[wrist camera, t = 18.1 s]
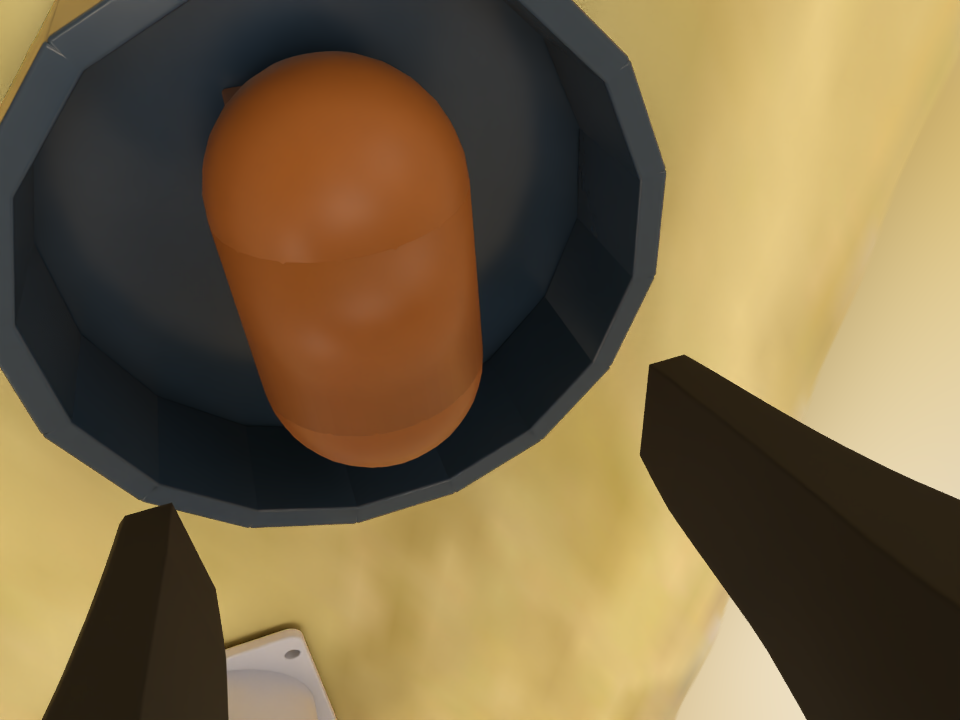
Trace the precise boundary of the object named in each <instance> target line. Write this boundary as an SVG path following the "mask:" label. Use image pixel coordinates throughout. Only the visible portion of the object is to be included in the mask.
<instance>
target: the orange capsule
mask: <svg viewBox="0 0 960 720" xmlns="http://www.w3.org/2000/svg"><path fill="white" fill-rule="evenodd" d="M222 96H223V100H224V105H225V106H224V108H223V110H222V111H221V113H220V115H219V117H218V119H217V121H216V123H215V125H214V127H213V129H212V131H211V133H210V135H209V138H208V142H207V146H206V151H205V155H204V159H203V168H202V197H203V202H204V207H205V211H206V216H207V220H208V224H209V227H210V230H211V233H212V236H213V239H214V242H215V245H216V248H217V251H218V254H219V257H220V260H221V263H222V266H223V269H224V272H225V275H226V278H227V281H228V284H229V287H230V290H231V293H232V296H233V299H234V302H235V305H236V308H237V311H238V314H239V317H240V320H241V323H242V326H243V329H244V332H245V335H246V338H247V341H248V344H249V347H250V349H251V352H252V355H253V358H254V361H255V364H256V367H257V370H258V373H259V376H260V379H261V382H262V385H263V388H264V391H265V394H266V396H267V398H268V401H269V403H270V405H271V407H272V409H273V411H274V413H275V415H276V416H277V417H278V419H279V420H280V421H281V423H282V424H283V425H284V427H285V428H286V429H287V430H288V431H289V432H290V433H291V434H292V436H293V437H294V438H295V439H297V440H298V441H299V442H300V443H302V444H303V445H304V446H306V447H307V448H308V449H310V450H312V451H313V452H315V453H317V454H319V455H321V456H323V457H325V458H327V459H329V460H331V461H334V462H338V463H342V464H346V465H350V466H357V467H370V468H375V467H388V466H393V465H397V464H402V463H405V462H408V461H410V460H413V459H416V458H418V457H420V456H421V455H423V454H425V453H427V452H429V451H430V450H432V449H433V448H435V447H437V446H438V445H439V444H440V443H442V442H443V441H444V440H445V439H447V438H448V437H449V436H450V435H451V434H452V433H453V432H454V430H455V429H456V428H457V427H458V426H459V425H460V423H461V422H462V420H463V419H464V417H465V416H466V415H467V413H468V411H469V409H470V407H471V405H472V404H473V402H474V399H475V396H476V393H477V390H478V387H479V383H480V379H481V374H482V363H483V344H482V331H481V319H480V306H479V293H478V281H477V268H476V255H475V242H474V230H473V217H472V204H471V192H470V179H469V174H468V169H467V164H466V158H465V153H464V150H463V148H462V145H461V143H460V141H459V138H458V136H457V134H456V131H455V129H454V127H453V125H452V123H451V121H450V120H449V118H448V117H447V115H446V114H445V112H444V111H443V110H442V108H441V107H440V105H439V104H438V102H437V101H436V100H435V99H434V98H433V97H432V96H431V95H430V94H429V93H428V92H427V91H426V90H425V89H423V88H422V87H421V86H420V85H419V84H418V83H417V82H416V81H415V80H414V79H412V78H411V77H410V76H408V75H406V74H405V73H403V72H401V71H399V70H398V69H396V68H394V67H393V66H391V65H389V64H387V63H385V62H383V61H380V60H376V59H373V58H370V57H366V56H363V55H360V54H356V53H351V52H343V51H324V52H314V53H307V54H302V55H297V56H293V57H290V58H286V59H284V60H281V61H278V62H276V63H274V64H272V65H270V66H269V67H267V68H266V69H264V70H263V71H261V72H260V73H258V74H257V75H255V76H254V77H252V78H251V79H249V80H248V81H246V82H245V83H244V84H243V85H242V86H238V87H232V88H227V89H224V90H222Z"/></svg>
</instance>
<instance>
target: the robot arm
mask: <svg viewBox="0 0 960 720" xmlns="http://www.w3.org/2000/svg"><path fill="white" fill-rule="evenodd" d="M640 456H641V458H642V460H643V462H644V464H645V466H646V468H647V470H648V472H649V474H650V476H651V478H652V480H653V482H654V484H655V486H656V487H657V489H658V491H659V493H660V495H661V496H662V498H663V500H664V502H665V504H666V506H667V507H668V509H669V511H670V512H671V514H672V515H673V517H674V518H675V519H676V521H677V522H678V524H679V525H680V527H681V528H682V529H683V531H684V532H685V534H686V535H687V537H688V538H689V539H690V541H691V542H692V544H693V545H694V547H695V548H696V549H697V551H698V552H699V554H700V555H701V556H702V558H703V559H704V561H705V562H706V563H707V565H708V566H709V568H710V569H711V570H712V572H713V573H714V575H715V576H716V577H717V579H718V580H719V582H720V583H721V584H722V586H723V587H724V588H725V590H726V591H727V593H728V594H729V595H730V597H731V598H732V600H733V601H734V602H735V604H736V605H737V607H738V608H739V609H740V610H741V612H742V614H743V615H744V616H745V618H746V619H747V621H748V622H749V623H750V625H751V626H752V628H753V629H754V631H755V633H756V634H757V635H758V637H759V639H760V640H761V642H762V643H763V645H764V646H765V648H766V649H767V651H768V652H769V654H770V656H771V658H772V660H773V661H774V663H775V665H776V666H777V668H778V670H779V672H780V673H781V675H782V677H783V679H784V680H785V682H786V684H787V685H788V687H789V689H790V691H791V693H792V694H793V696H794V698H795V699H796V701H797V703H798V705H799V707H800V708H801V710H802V712H803V714H804V716H805V718H806V719H807V720H960V500H959V499H957V498H954V497H952V496H950V495H947V494H945V493H943V492H940V491H938V490H935V489H933V488H931V487H929V486H926V485H924V484H922V483H919V482H917V481H914V480H912V479H910V478H908V477H906V476H903V475H902V474H899V473H897V472H895V471H893V470H891V469H889V468H887V467H885V466H883V465H881V464H879V463H876V462H875V461H873V460H870V459H869V458H867V457H865V456H863V455H861V454H859V453H857V452H855V451H853V450H851V449H849V448H846V447H845V446H843V445H841V444H839V443H837V442H835V441H834V440H831V439H830V438H828V437H826V436H824V435H822V434H820V433H819V432H817V431H815V430H813V429H811V428H810V427H808V426H806V425H804V424H802V423H801V422H799V421H797V420H795V419H794V418H792V417H790V416H788V415H786V414H785V413H783V412H781V411H780V410H778V409H776V408H774V407H773V406H771V405H769V404H767V403H766V402H764V401H762V400H761V399H759V398H757V397H756V396H754V395H752V394H751V393H749V392H747V391H745V390H744V389H742V388H740V387H739V386H737V385H735V384H734V383H732V382H730V381H729V380H727V379H725V378H724V377H722V376H720V375H719V374H717V373H715V372H714V371H712V370H710V369H709V368H707V367H705V366H703V365H702V364H700V363H698V362H696V361H695V360H693V359H691V358H689V357H688V356H686V355H681V356H678V357H674V358H671V359H667V360H664V361H661V362H657V363H654V364H650V365H649V373H648V382H647V392H646V401H645V411H644V421H643V430H642V440H641V449H640ZM42 720H337V718H336V715H335V713H334V711H333V708H332V706H331V703H330V701H329V698H328V696H327V693H326V691H325V688H324V686H323V683H322V681H321V678H320V676H319V673H318V671H317V669H316V666H315V664H314V661H313V659H312V656H311V654H310V651H309V649H308V646H307V644H306V641H305V639H304V636H303V634H302V632H301V631H300V630H297V629H285V630H282V631H279V632H276V633H273V634H270V635H267V636H264V637H261V638H258V639H255V640H252V641H249V642H246V643H243V644H240V645H236V646H233V647H230V648H227V649H225V646H224V639H223V632H222V625H221V619H220V613H219V607H218V600H217V594H216V589H215V587H214V585H213V583H212V581H211V579H210V577H209V575H208V573H207V571H206V569H205V567H204V565H203V563H202V561H201V559H200V557H199V555H198V553H197V551H196V549H195V547H194V545H193V543H192V541H191V539H190V537H189V535H188V533H187V531H186V529H185V527H184V525H183V523H182V521H181V520H180V518H179V516H178V514H177V512H176V510H175V508H174V506H173V504H172V503H168V504H165V505H161V506H158V507H154V508H151V509H148V510H144V511H141V512H137V513H134V514H130V515H127V516H125V517H124V518H123V520H122V521H121V523H120V524H119V527H118V530H117V533H116V536H115V539H114V542H113V545H112V548H111V551H110V554H109V557H108V560H107V563H106V566H105V569H104V572H103V574H102V577H101V580H100V583H99V585H98V588H97V591H96V593H95V596H94V599H93V601H92V604H91V607H90V609H89V612H88V614H87V617H86V620H85V622H84V624H83V627H82V629H81V632H80V634H79V636H78V639H77V641H76V644H75V646H74V649H73V651H72V653H71V656H70V658H69V661H68V663H67V665H66V668H65V670H64V673H63V675H62V677H61V680H60V682H59V684H58V686H57V689H56V691H55V693H54V695H53V697H52V699H51V701H50V703H49V706H48V708H47V710H46V712H45V714H44V716H43V718H42Z"/></svg>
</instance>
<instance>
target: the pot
mask: <svg viewBox="0 0 960 720" xmlns="http://www.w3.org/2000/svg"><path fill="white" fill-rule="evenodd" d="M324 51H343V52H351V53H356V54H360V55H363V56H366V57H370V58H373V59H376V60H380V61H383V62H385V63H387V64H389V65H391V66H393V67H394V68H396V69H398V70H399V71H401V72H403V73H405V74H406V75H408V76H410V77H411V78H412V79H414V80H415V81H416V82H417V83H418V84H419V85H420V86H421V87H422V88H423V89H425V90H426V91H427V92H428V93H429V94H430V95H431V96H432V97H433V98H434V99H435V100H436V101H437V102H438V104H439V105H440V107H441V108H442V110H443V111H444V112H445V114H446V115H447V117H448V118H449V120H450V121H451V123H452V125H453V127H454V129H455V131H456V134H457V136H458V138H459V141H460V143H461V145H462V148H463V150H464V153H465V158H466V164H467V169H468V174H469V179H470V192H471V204H472V217H473V230H474V242H475V255H476V268H477V281H478V293H479V306H480V319H481V331H482V344H483V363H482V374H481V379H480V383H479V387H478V390H477V393H476V396H475V399H474V402H473V404H472V405H471V407H470V409H469V411H468V413H467V415H466V416H465V417H464V419H463V420H462V422H461V423H460V425H459V426H458V427H457V428H456V429H455V430H454V432H453V433H452V434H451V435H450V436H449V437H448V438H447V439H445V440H444V441H443V442H442V443H440V444H439V445H438V446H437V447H435V448H433V449H432V450H430V451H429V452H427V453H425V454H423V455H421V456H420V457H418V458H416V459H413V460H410V461H408V462H405V463H402V464H397V465H393V466H388V467H375V468H370V467H357V466H350V465H346V464H342V463H338V462H334V461H331V460H329V459H327V458H325V457H323V456H321V455H319V454H317V453H315V452H313V451H312V450H310V449H308V448H307V447H306V446H304V445H303V444H302V443H300V442H299V441H298V440H297V439H295V438H294V437H293V436H292V434H291V433H290V432H289V431H288V430H287V429H286V428H285V427H284V425H283V424H282V423H281V421H280V420H279V419H278V417H277V416H276V415H275V413H274V411H273V409H272V407H271V405H270V403H269V401H268V398H267V396H266V394H265V391H264V388H263V385H262V382H261V379H260V376H259V373H258V370H257V367H256V364H255V361H254V358H253V355H252V352H251V349H250V347H249V344H248V341H247V338H246V335H245V332H244V329H243V326H242V323H241V320H240V317H239V314H238V311H237V308H236V305H235V302H234V299H233V296H232V293H231V290H230V287H229V284H228V281H227V278H226V275H225V272H224V269H223V266H222V263H221V260H220V257H219V254H218V251H217V248H216V245H215V242H214V239H213V236H212V233H211V230H210V227H209V224H208V220H207V216H206V211H205V207H204V202H203V197H202V168H203V159H204V155H205V151H206V146H207V142H208V138H209V135H210V133H211V131H212V129H213V127H214V125H215V123H216V121H217V119H218V117H219V115H220V113H221V111H222V110H223V108H224V106H225V105H224V100H223V96H222V90H224V89H227V88H232V87H238V86H242V85H243V84H244V83H245V82H246V81H248V80H249V79H251V78H252V77H254V76H255V75H257V74H258V73H260V72H261V71H263V70H264V69H266V68H267V67H269V66H270V65H272V64H274V63H276V62H278V61H281V60H284V59H286V58H290V57H293V56H297V55H302V54H307V53H314V52H324ZM665 179H666V170H665V165H664V162H663V159H662V156H661V153H660V150H659V147H658V144H657V141H656V138H655V135H654V131H653V128H652V125H651V122H650V119H649V116H648V113H647V110H646V107H645V104H644V101H643V98H642V95H641V92H640V89H639V86H638V83H637V80H636V76H635V73H634V70H633V67H632V64H631V61H630V60H629V58H628V56H627V55H626V54H625V53H624V52H623V51H622V50H621V49H620V48H619V47H618V46H617V45H616V44H615V43H614V42H613V41H612V40H611V39H610V38H609V37H608V36H607V35H606V34H605V33H604V32H603V31H602V30H601V29H600V28H599V27H598V26H597V25H596V24H595V23H594V22H593V21H592V20H591V19H590V18H589V17H588V16H587V15H586V14H585V13H584V12H583V11H582V10H581V9H580V8H579V7H578V6H577V5H576V3H575V2H574V1H573V0H55V2H54V3H53V5H52V7H51V9H50V11H49V13H48V15H47V17H46V19H45V21H44V23H43V25H42V27H41V28H40V30H39V32H38V34H37V36H36V38H35V40H34V41H33V43H32V44H31V46H30V48H29V50H28V52H27V55H26V57H25V59H24V61H23V63H22V65H21V67H20V69H19V71H18V73H17V75H16V76H15V78H14V80H13V82H12V84H11V86H10V88H9V90H8V92H7V94H6V96H5V98H4V100H3V101H2V103H1V105H0V368H1V370H2V371H3V373H4V375H5V376H6V378H7V379H8V381H9V383H10V384H11V386H12V387H13V389H14V391H15V392H16V394H17V395H18V397H19V399H20V400H21V402H22V403H23V405H24V407H25V408H26V410H27V411H28V413H29V415H30V416H31V418H32V419H33V421H34V423H35V424H36V426H37V427H38V429H39V431H40V432H41V433H42V434H43V436H44V437H45V438H46V439H48V440H50V441H51V442H53V443H54V444H56V445H57V446H59V447H60V448H62V449H63V450H65V451H66V452H68V453H69V454H71V455H72V456H74V457H75V458H77V459H78V460H80V461H81V462H83V463H84V464H86V465H87V466H89V467H90V468H92V469H93V470H95V471H96V472H98V473H99V474H101V475H102V476H104V477H105V478H107V479H108V480H110V481H111V482H113V483H114V484H116V485H117V486H119V487H120V488H122V489H123V490H125V491H126V492H128V493H129V494H131V495H132V496H134V497H135V498H137V499H138V500H141V501H143V502H146V503H150V504H154V505H158V506H161V505H165V504H168V503H172V504H173V506H174V508H175V510H178V511H182V512H186V513H190V514H194V515H198V516H202V517H206V518H210V519H214V520H219V521H223V522H227V523H231V524H235V525H239V526H243V527H247V528H249V527H251V528H261V527H285V526H309V525H333V524H354V523H356V522H357V523H360V522H363V521H366V520H369V519H373V518H376V517H379V516H382V515H386V514H389V513H392V512H395V511H398V510H402V509H405V508H408V507H411V506H415V505H418V504H421V503H424V502H428V501H431V500H434V499H437V498H441V497H444V496H447V495H450V494H453V493H454V492H458V491H460V490H461V489H463V488H465V487H466V486H468V485H469V484H471V483H473V482H474V481H476V480H478V479H479V478H481V477H483V476H484V475H486V474H487V473H489V472H491V471H492V470H494V469H496V468H497V467H499V466H500V465H502V464H504V463H505V462H507V461H509V460H510V459H512V458H514V457H515V456H517V455H518V454H520V453H522V452H523V451H525V450H527V449H528V448H530V447H531V446H533V445H535V444H536V443H538V442H540V441H541V439H543V438H544V437H545V436H546V435H547V434H548V433H549V432H550V431H551V430H552V429H553V428H554V427H555V426H556V425H557V424H558V423H559V421H560V420H561V419H562V418H563V417H564V416H565V415H566V414H567V413H568V412H569V411H570V410H571V409H572V408H573V407H574V406H575V404H576V403H577V402H578V401H579V400H580V399H581V398H582V397H583V396H584V395H585V394H586V393H587V392H588V391H589V390H590V389H591V388H592V386H593V385H594V384H595V383H596V382H597V381H598V380H599V379H600V378H601V377H602V376H603V375H604V374H605V373H606V372H607V371H608V370H609V368H610V367H609V366H611V365H612V363H613V361H614V359H615V357H616V355H617V353H618V351H619V349H620V346H621V344H622V342H623V340H624V338H625V336H626V334H627V332H628V330H629V328H630V326H631V324H632V322H633V320H634V318H635V316H636V314H637V312H638V310H639V308H640V306H641V304H642V302H643V300H644V298H645V296H646V294H647V292H648V290H649V287H650V285H651V283H652V281H653V279H654V276H655V274H656V266H657V257H658V247H659V237H660V228H661V218H662V208H663V199H664V189H665Z"/></svg>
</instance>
